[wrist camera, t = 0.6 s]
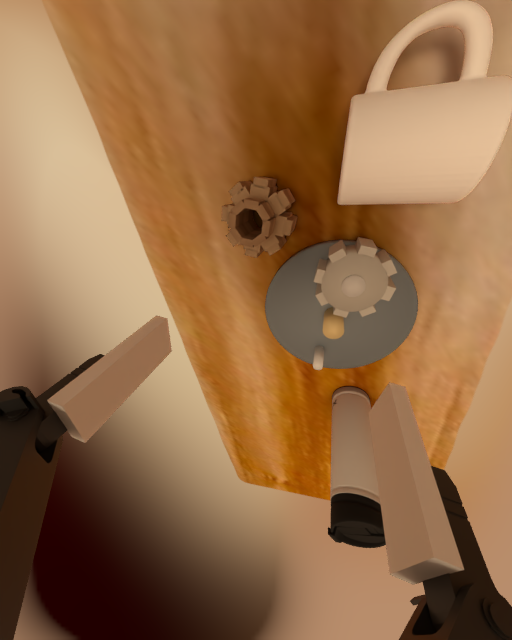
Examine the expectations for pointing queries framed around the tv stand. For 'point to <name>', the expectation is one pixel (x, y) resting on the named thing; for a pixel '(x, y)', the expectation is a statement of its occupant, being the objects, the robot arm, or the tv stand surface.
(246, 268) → the tv stand surface
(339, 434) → the travel mug
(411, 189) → the mug
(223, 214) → the oak gear
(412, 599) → the robot arm
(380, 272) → the carrier
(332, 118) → the tv stand surface
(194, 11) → the tv stand surface
